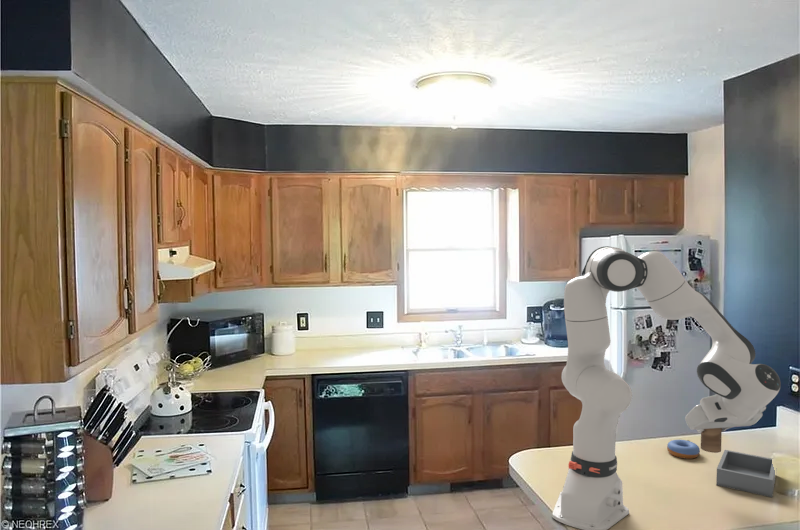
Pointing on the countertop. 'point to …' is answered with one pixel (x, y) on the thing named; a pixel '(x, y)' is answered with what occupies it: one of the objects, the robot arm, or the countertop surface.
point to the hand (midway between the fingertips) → (709, 430)
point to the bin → (746, 473)
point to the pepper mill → (711, 440)
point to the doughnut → (683, 449)
